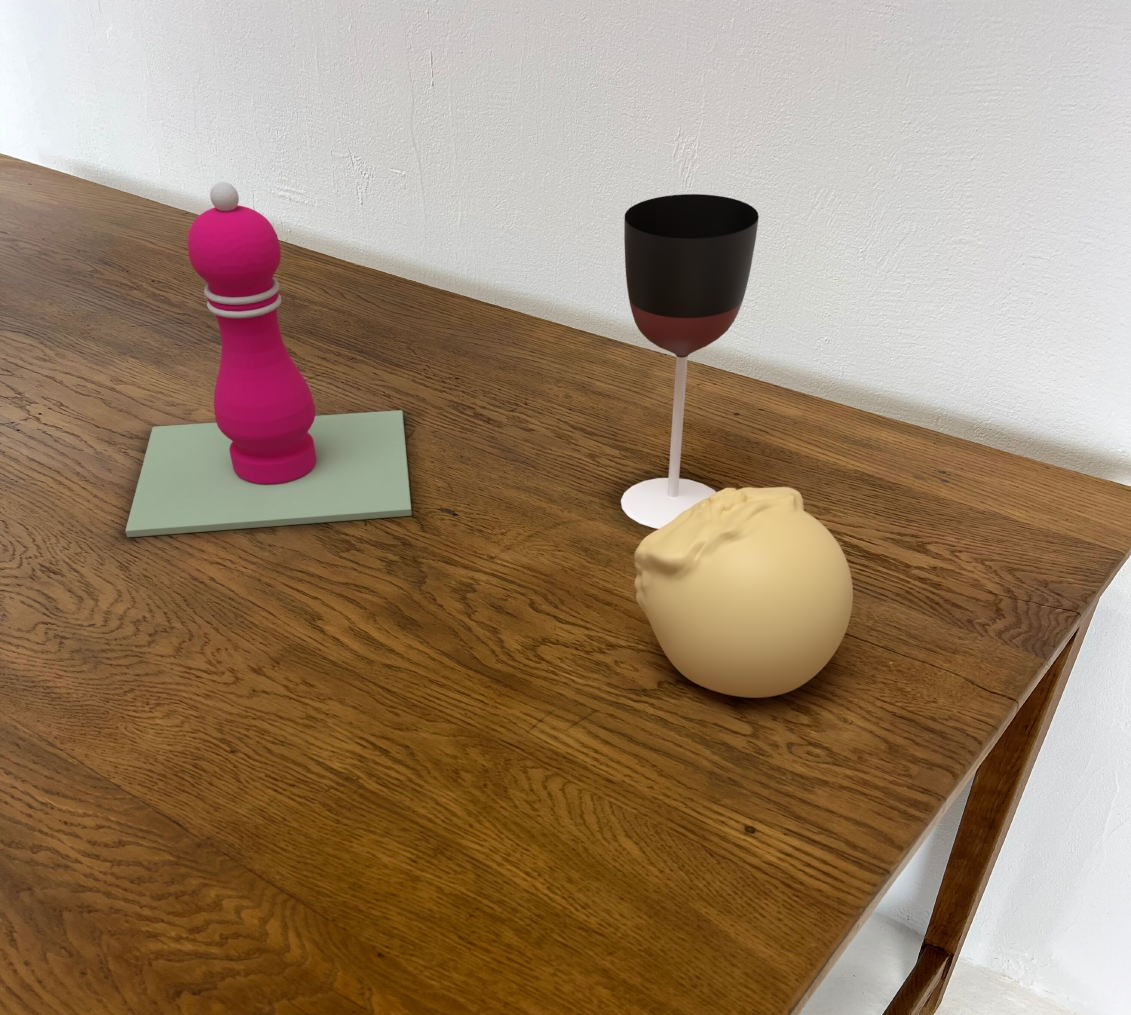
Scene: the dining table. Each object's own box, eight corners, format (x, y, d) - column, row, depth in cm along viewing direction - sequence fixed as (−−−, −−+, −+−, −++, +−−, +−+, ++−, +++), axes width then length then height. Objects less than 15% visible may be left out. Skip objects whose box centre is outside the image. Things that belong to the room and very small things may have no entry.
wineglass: (751, 498, 84) (785, 211, 71) (678, 546, 79) (700, 248, 66) (666, 463, 88) (683, 185, 75) (592, 507, 83) (596, 218, 70)
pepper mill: (293, 433, 91) (245, 159, 77) (341, 467, 86) (299, 184, 73) (210, 461, 87) (144, 180, 74) (255, 498, 83) (195, 207, 70)
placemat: (127, 537, 80) (125, 530, 80) (154, 433, 92) (152, 426, 92) (411, 516, 82) (411, 508, 82) (402, 416, 94) (402, 409, 94)
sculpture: (729, 583, 76) (745, 433, 69) (875, 666, 69) (911, 510, 62) (603, 653, 70) (606, 497, 63) (749, 750, 64) (772, 589, 56)
